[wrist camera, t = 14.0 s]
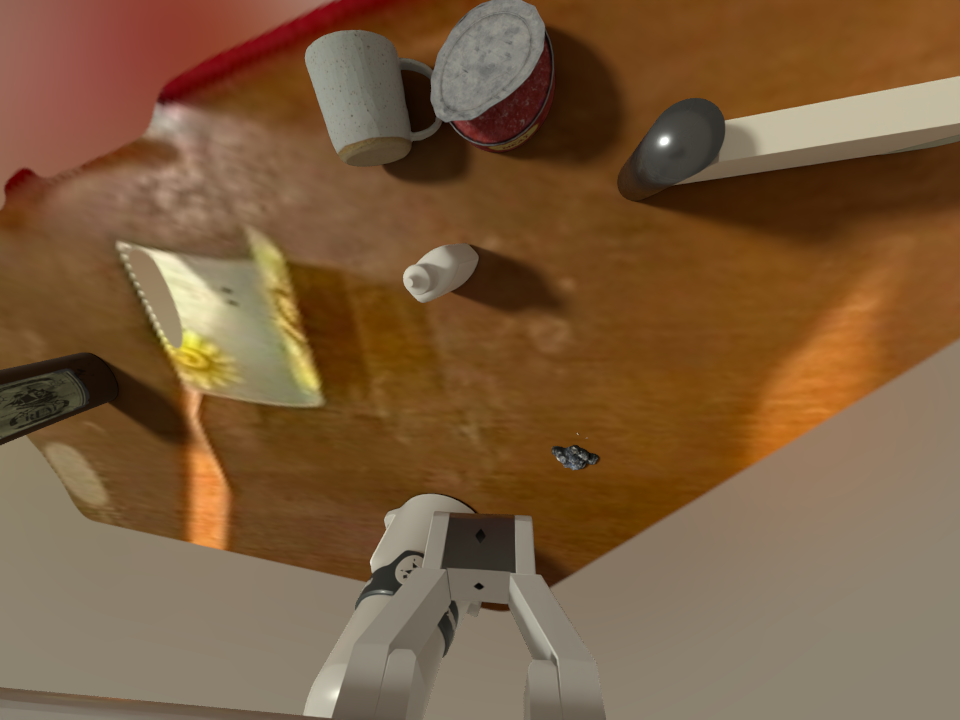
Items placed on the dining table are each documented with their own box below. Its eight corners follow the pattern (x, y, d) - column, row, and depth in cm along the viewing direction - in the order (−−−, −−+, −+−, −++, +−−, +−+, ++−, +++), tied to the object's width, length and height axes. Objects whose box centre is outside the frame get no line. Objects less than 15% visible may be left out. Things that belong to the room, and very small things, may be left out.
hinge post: (655, 202, 31) (711, 180, 18) (613, 199, 31) (639, 177, 19) (666, 156, 29) (736, 98, 17) (622, 154, 30) (657, 97, 17)
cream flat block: (670, 186, 29) (718, 163, 19) (671, 158, 29) (722, 120, 19) (935, 146, 25) (1179, 88, 15) (944, 112, 24) (1207, 27, 14)
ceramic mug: (365, 175, 36) (317, 161, 29) (341, 85, 34) (282, 47, 27) (458, 146, 33) (428, 123, 26) (438, 45, 31) (400, -10, 24)
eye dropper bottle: (486, 280, 37) (449, 300, 26) (441, 293, 39) (388, 317, 28) (475, 239, 36) (431, 243, 25) (428, 255, 38) (368, 264, 27)
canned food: (473, 149, 37) (396, 126, 30) (496, 27, 32) (409, -34, 25) (558, 170, 31) (485, 148, 24) (602, 24, 26) (526, -56, 19)
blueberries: (543, 422, 42) (541, 430, 40) (613, 430, 39) (613, 439, 38) (544, 468, 44) (542, 477, 43) (610, 478, 42) (610, 488, 40)
